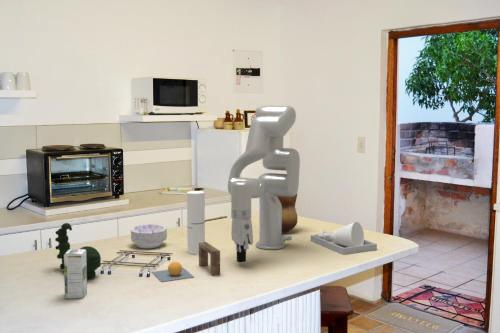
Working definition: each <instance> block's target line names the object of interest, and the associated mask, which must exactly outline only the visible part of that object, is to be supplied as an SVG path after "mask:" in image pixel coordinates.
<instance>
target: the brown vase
mask: <svg viewBox="0 0 500 333" xmlns="http://www.w3.org/2000/svg"><path fill="white" fill-rule="evenodd" d="M277 197H278V199H279V201H280V202H281V205H282V233H287V232H289V231H291V230H293V229H295V227H296V226H297V225H298V213H297V208H296V203H297V199H298V198H297V197H298V193H297V194H296V195H295V196H293V197H285V196H277Z"/></svg>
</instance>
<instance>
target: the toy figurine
mask: <svg viewBox="0 0 500 333" xmlns="http://www.w3.org/2000/svg"><path fill="white" fill-rule="evenodd" d="M72 227H73V226H72V225H71V223H69V222H65V223H63V224H62V225H61V227H60V228H59V229H58V230H56V231H55V234H56V235H57V237H56V238H55V239H54V240H55V242H57V243H58V245H55V250H59V252H58V254H57V255H56V258H57V259H59V260H60V259H61V263H60V265H59V268H60V269H61V270H64V254H65V253H66V252H67V251H68V250H70V249H71V243H70V242H69V236H68V231H67V230H69V231H72V230H73V228H72ZM79 249H84V250H86V263H87V280H89V279H93V278H94V277H96V274H97V272H96V270H98V269H99V268H100V267H101V266H102V265H101V261H102V257H101V254H100V252H99V251H98V250H97V249H96V248H95V247H93V246H82V247H79Z"/></svg>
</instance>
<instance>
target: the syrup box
mask: <svg viewBox="0 0 500 333" xmlns="http://www.w3.org/2000/svg"><path fill="white" fill-rule="evenodd" d="M63 271H64V272H63V273H64V274H63V275H64V276H63V278H64V299H67V300H68V299H84V297H85V295H87V292H88V286H87V285H88V281H87V280H88V279H87V263H86V250H84V249H80V248H70V250H68V251H67V252H66V253H65V254H64V269H63Z"/></svg>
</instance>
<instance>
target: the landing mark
mask: <svg viewBox="0 0 500 333" xmlns="http://www.w3.org/2000/svg"><path fill="white" fill-rule="evenodd" d="M151 274H153V275H154V277H155V278H157V280H158V281H160V283H166V282H172V281H179V280H186V279H192V278H193V279H194V278H195V276H194V275H193V274H192V273H190V272H189V271H188V269H186V268H184V267H182V272H181V273H180V274H179V275H177V276H173V275H171V274H170V273H169V272H168V269H164V270H156V271H151Z"/></svg>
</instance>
